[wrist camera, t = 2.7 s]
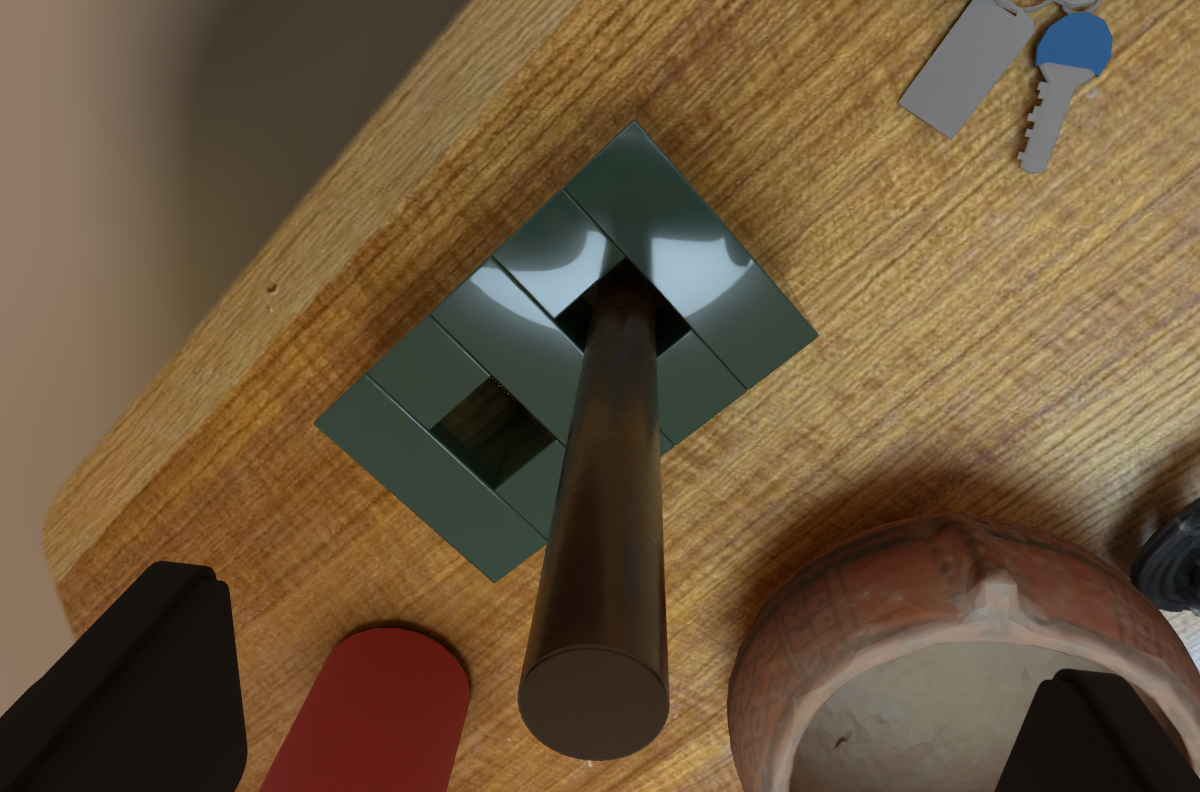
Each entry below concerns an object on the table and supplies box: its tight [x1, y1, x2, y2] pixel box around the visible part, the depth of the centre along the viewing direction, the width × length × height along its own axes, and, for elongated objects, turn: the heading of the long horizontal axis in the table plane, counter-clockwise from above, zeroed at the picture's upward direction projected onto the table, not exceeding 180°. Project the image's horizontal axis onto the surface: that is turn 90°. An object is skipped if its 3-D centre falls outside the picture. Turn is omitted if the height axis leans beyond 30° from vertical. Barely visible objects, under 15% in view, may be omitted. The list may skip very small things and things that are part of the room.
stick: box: [518, 257, 670, 761], centre depth 19 cm, size 2×2×20 cm
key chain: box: [898, 0, 1113, 174], centre depth 24 cm, size 14×8×1 cm, turn 109°
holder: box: [314, 103, 819, 583], centre depth 26 cm, size 13×8×6 cm, turn 133°
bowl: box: [727, 512, 1200, 792], centre depth 29 cm, size 16×16×10 cm
